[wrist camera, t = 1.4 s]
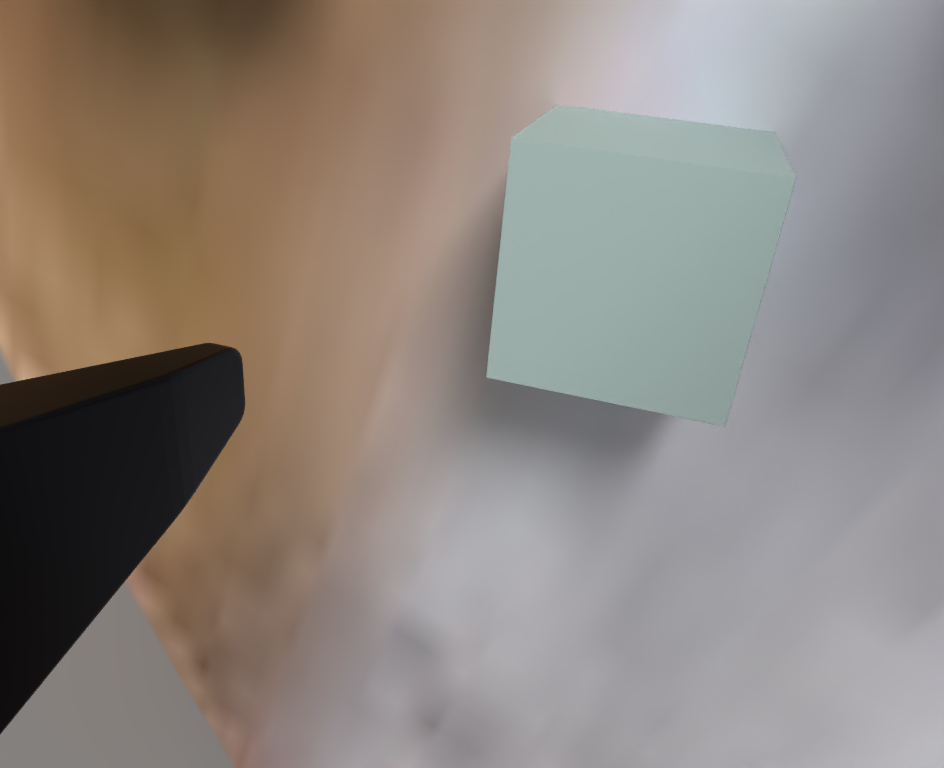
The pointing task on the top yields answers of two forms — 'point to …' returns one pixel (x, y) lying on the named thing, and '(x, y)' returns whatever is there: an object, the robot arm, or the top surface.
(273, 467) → the top surface
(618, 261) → the painted cube
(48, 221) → the top surface
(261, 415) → the top surface
